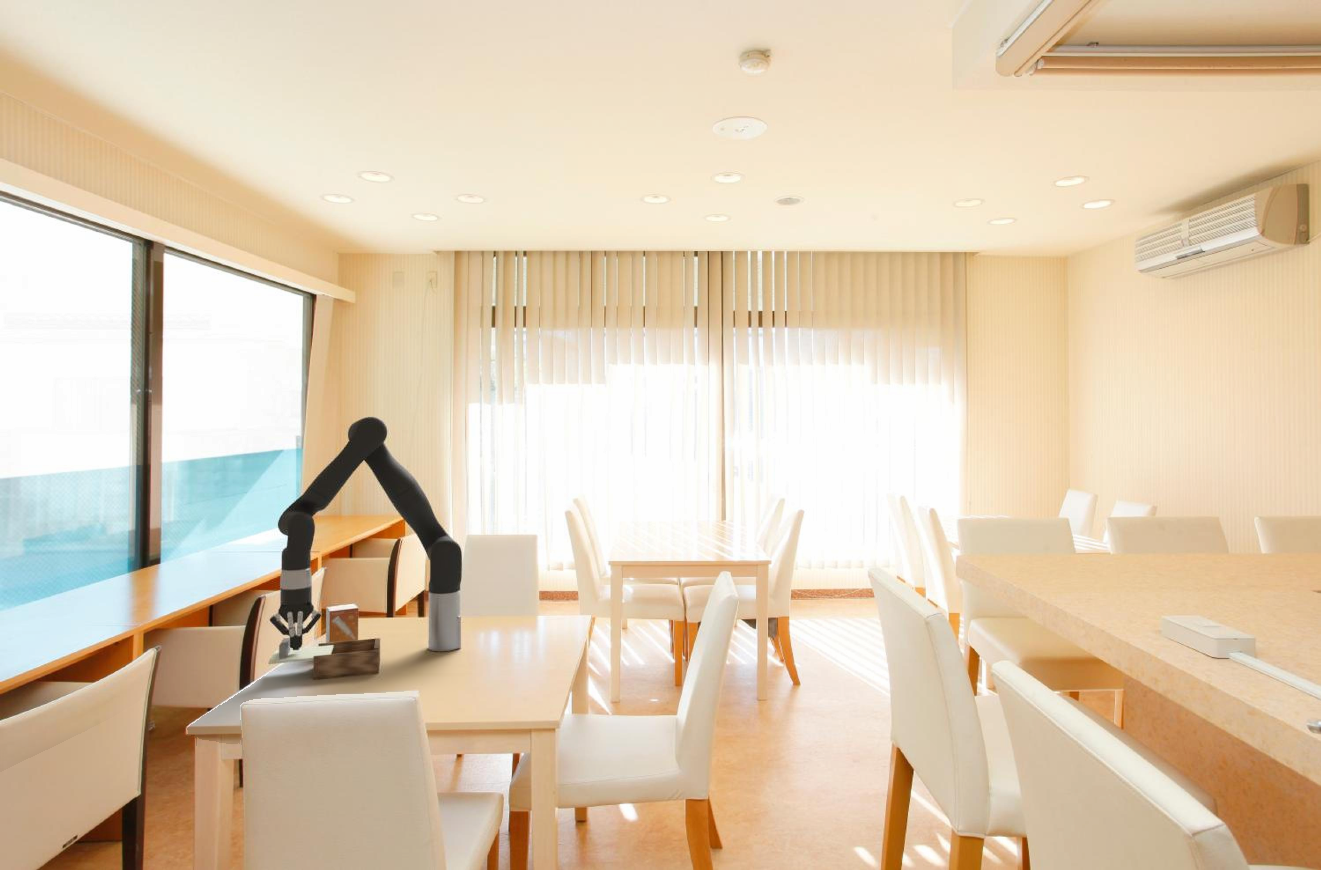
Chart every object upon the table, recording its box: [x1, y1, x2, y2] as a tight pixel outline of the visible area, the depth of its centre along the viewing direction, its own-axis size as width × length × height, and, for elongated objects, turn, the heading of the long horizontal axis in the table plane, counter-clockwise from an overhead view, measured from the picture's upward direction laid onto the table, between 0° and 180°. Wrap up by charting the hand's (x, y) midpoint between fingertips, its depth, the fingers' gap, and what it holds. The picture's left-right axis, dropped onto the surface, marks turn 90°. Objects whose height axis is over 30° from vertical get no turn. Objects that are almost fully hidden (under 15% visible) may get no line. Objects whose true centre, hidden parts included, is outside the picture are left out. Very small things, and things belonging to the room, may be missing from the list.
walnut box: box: [313, 637, 381, 680], centre depth 197 cm, size 16×12×6 cm
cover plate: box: [268, 637, 334, 665], centre depth 193 cm, size 14×11×4 cm
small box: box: [325, 603, 359, 643], centre depth 214 cm, size 8×6×13 cm
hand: (296, 649), depth 192 cm, fingers closed
